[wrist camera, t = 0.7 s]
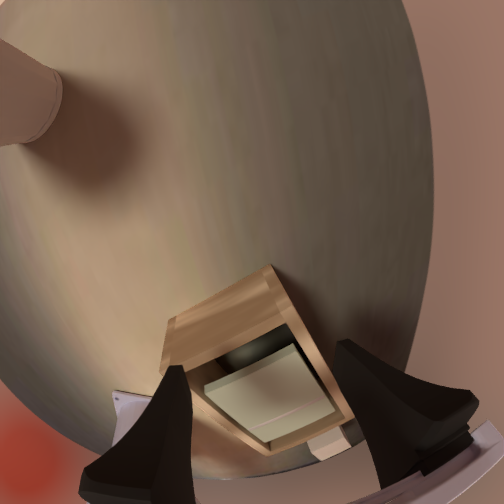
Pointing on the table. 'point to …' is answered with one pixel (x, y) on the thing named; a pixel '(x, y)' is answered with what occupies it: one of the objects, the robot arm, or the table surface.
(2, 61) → the cup
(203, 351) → the box
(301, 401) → the pale grey flat block
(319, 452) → the pinkish beige block
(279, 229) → the table surface
